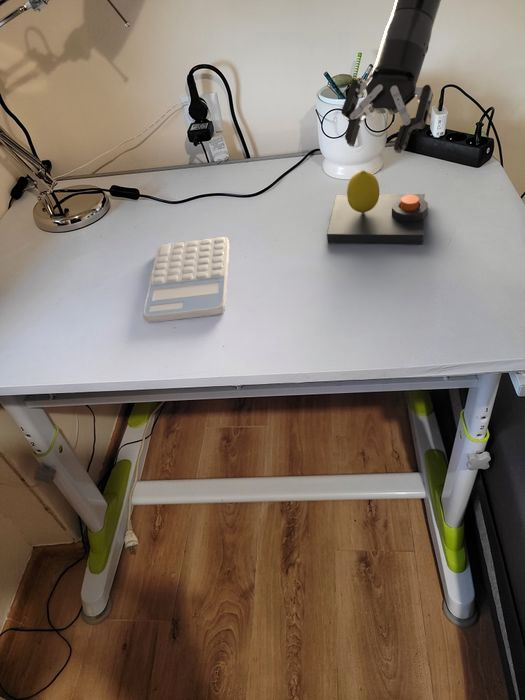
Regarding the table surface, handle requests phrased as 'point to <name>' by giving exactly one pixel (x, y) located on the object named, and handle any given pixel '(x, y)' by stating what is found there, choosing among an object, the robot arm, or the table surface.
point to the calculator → (188, 280)
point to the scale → (377, 222)
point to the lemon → (363, 191)
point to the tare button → (410, 202)
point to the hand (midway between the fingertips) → (373, 148)
